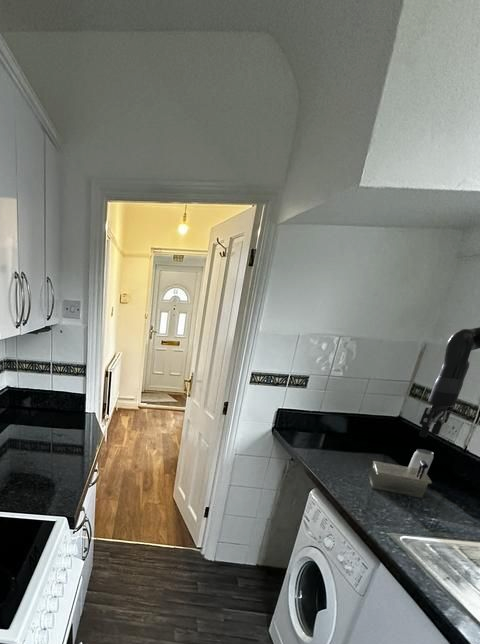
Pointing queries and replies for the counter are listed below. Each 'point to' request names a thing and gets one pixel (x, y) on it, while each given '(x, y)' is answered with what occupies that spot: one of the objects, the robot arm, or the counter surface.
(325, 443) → the counter surface
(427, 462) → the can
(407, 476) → the lid
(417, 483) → the beige storage tray
